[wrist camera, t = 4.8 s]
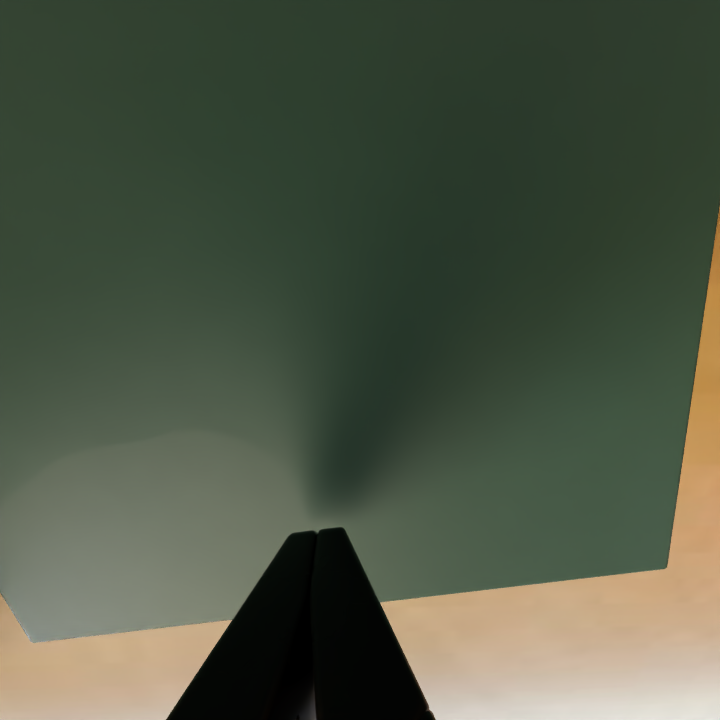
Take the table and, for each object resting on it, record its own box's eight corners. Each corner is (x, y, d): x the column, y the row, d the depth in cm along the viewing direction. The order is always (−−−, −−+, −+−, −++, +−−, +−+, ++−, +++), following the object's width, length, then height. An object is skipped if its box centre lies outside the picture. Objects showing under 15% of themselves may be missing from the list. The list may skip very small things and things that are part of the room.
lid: (646, 536, 11) (667, 570, 10) (50, 608, 11) (30, 644, 11) (819, -929, 4) (919, -1133, 3) (-638, -588, 5) (-813, -702, 4)
